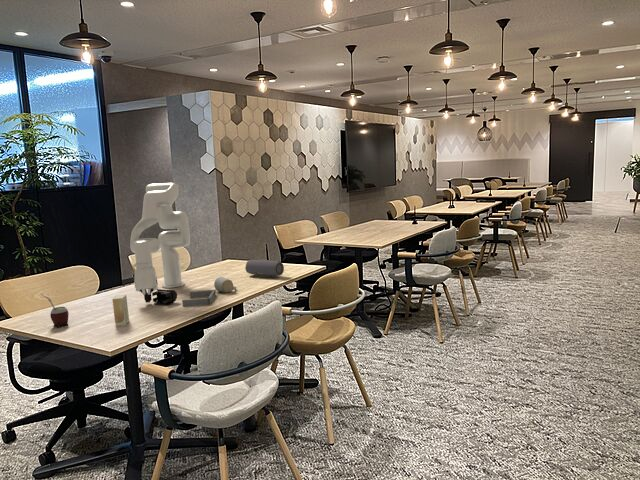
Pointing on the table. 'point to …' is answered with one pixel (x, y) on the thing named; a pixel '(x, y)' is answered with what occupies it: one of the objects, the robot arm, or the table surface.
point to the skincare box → (120, 310)
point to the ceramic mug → (224, 285)
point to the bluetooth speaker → (264, 268)
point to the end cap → (164, 297)
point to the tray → (200, 301)
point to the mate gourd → (59, 315)
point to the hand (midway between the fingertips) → (148, 301)
